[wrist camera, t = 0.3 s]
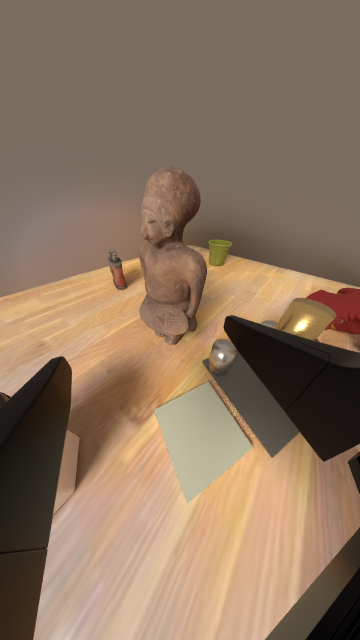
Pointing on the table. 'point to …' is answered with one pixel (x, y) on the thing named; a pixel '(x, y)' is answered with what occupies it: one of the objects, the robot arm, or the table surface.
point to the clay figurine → (170, 255)
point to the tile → (200, 438)
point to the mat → (256, 405)
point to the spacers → (227, 353)
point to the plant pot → (218, 251)
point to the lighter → (116, 270)
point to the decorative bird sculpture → (342, 308)
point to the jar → (62, 464)
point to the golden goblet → (306, 318)
